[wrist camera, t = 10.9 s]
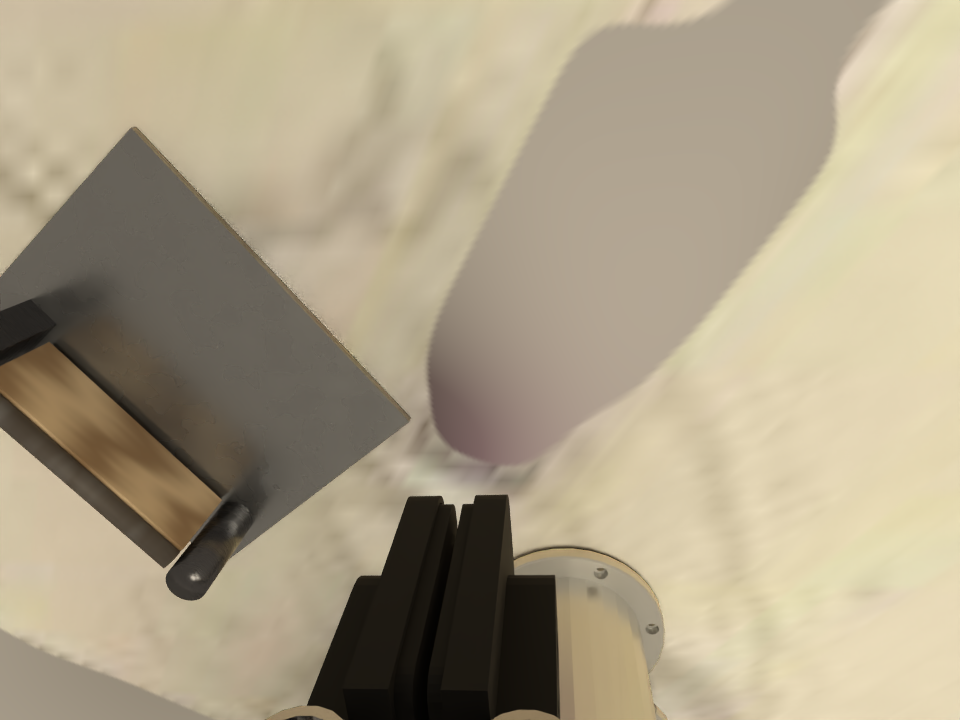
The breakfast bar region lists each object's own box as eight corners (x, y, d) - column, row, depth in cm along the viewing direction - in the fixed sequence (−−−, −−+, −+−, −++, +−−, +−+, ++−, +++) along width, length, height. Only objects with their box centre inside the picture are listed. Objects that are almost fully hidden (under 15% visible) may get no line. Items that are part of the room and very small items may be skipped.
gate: (222, 500, 43) (174, 559, 38) (207, 512, 44) (158, 572, 38) (49, 341, 40) (-31, 381, 35) (35, 356, 41) (-46, 398, 35)
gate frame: (410, 417, 41) (385, 478, 34) (221, 562, 46) (169, 637, 40) (136, 127, 36) (46, 134, 30) (-39, 326, 42) (-148, 369, 35)
